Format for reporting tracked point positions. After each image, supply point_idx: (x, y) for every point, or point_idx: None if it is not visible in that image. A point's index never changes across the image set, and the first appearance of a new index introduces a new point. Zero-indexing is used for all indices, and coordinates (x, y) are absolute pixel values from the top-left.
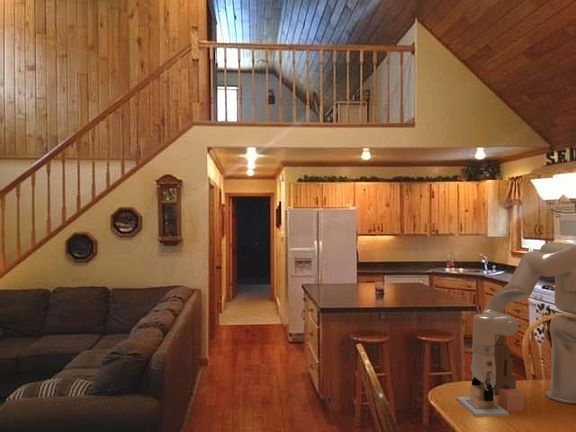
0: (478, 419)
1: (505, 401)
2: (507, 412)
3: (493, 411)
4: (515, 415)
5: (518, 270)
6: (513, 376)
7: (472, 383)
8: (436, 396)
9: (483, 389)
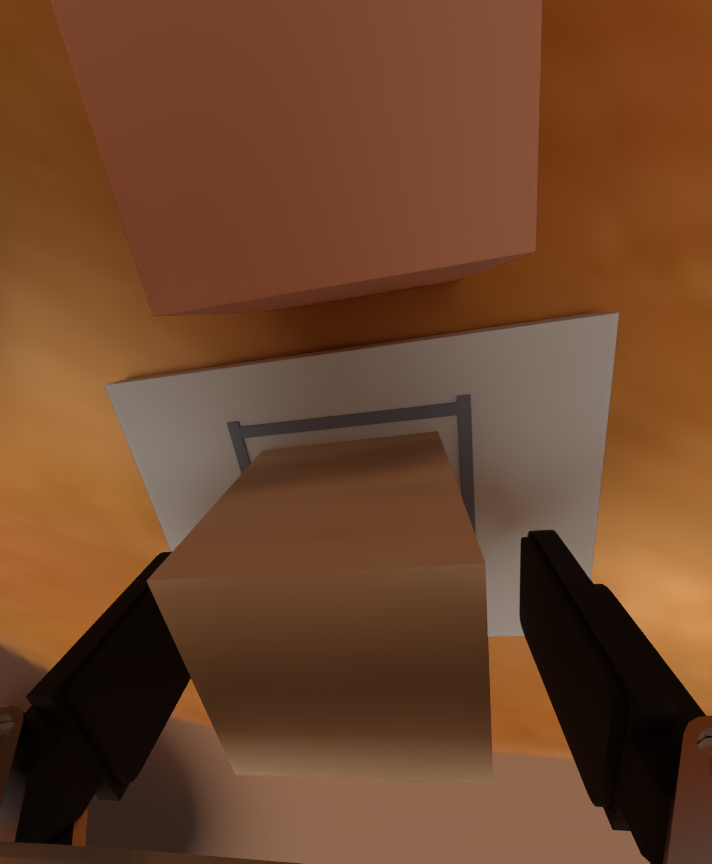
0: (636, 614)
1: (423, 281)
2: (600, 327)
3: (549, 475)
4: (591, 216)
5: None
6: None
7: (150, 740)
8: (195, 707)
9: (411, 703)
